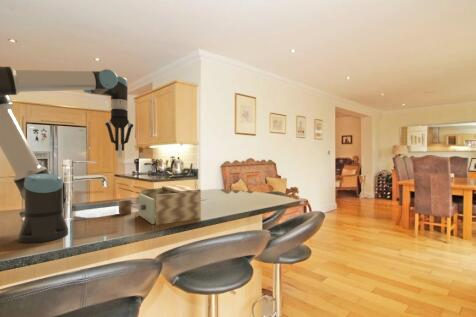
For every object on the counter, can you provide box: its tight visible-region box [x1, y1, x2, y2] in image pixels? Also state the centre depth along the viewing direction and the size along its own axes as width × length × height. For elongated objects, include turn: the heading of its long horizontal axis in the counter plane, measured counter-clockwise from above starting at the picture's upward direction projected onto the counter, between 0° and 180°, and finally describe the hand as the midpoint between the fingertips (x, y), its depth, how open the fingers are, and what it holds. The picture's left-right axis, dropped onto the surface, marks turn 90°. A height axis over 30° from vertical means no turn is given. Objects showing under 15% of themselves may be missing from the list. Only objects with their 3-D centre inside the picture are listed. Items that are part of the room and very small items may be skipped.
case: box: [140, 184, 202, 226], centre depth 135 cm, size 21×25×14 cm
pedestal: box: [118, 198, 132, 216], centre depth 143 cm, size 5×5×7 cm
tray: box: [138, 193, 156, 225], centre depth 134 cm, size 23×23×11 cm
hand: (119, 157), depth 134 cm, fingers closed
